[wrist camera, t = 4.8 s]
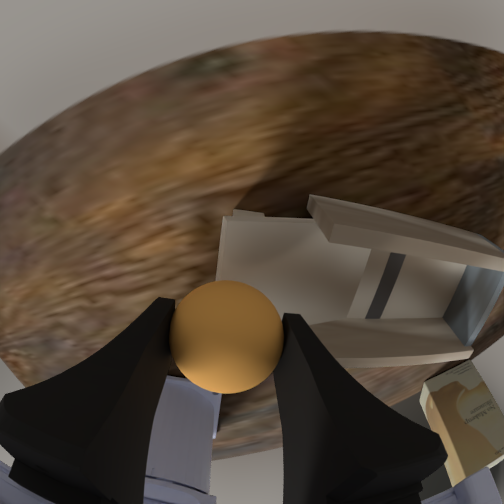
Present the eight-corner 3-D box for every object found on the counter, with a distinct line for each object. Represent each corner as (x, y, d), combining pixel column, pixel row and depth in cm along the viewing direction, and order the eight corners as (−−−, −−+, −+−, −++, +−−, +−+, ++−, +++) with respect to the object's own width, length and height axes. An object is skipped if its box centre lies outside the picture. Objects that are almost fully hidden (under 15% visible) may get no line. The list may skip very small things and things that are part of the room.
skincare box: (470, 357, 22) (522, 441, 11) (462, 380, 24) (505, 458, 13) (420, 382, 23) (466, 480, 12) (416, 403, 24) (452, 491, 13)
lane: (441, 322, 19) (468, 358, 15) (214, 307, 18) (207, 359, 14) (480, 234, 16) (519, 262, 12) (229, 181, 14) (222, 206, 10)
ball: (268, 344, 13) (275, 418, 9) (179, 334, 12) (161, 406, 9) (287, 267, 11) (306, 338, 7) (181, 253, 11) (153, 321, 7)
